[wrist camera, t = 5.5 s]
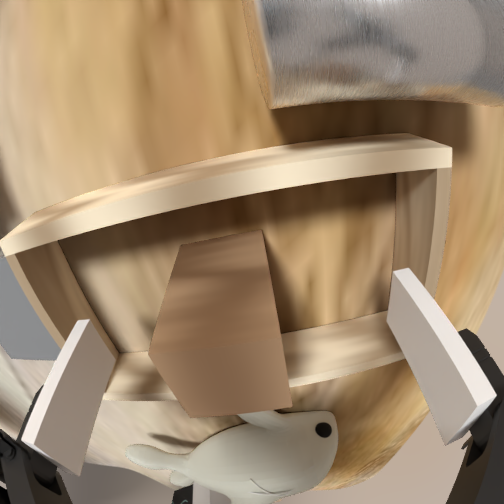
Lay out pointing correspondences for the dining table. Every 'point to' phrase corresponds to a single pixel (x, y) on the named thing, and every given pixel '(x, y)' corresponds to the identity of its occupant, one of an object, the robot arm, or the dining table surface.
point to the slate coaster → (21, 322)
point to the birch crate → (233, 185)
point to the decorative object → (199, 496)
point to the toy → (254, 457)
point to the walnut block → (221, 330)
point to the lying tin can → (377, 50)
